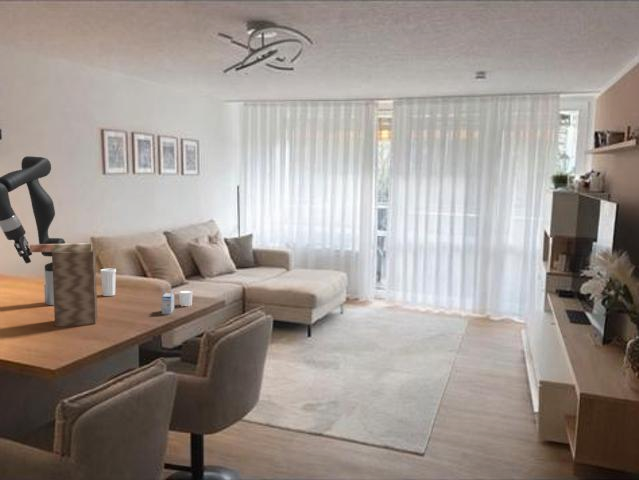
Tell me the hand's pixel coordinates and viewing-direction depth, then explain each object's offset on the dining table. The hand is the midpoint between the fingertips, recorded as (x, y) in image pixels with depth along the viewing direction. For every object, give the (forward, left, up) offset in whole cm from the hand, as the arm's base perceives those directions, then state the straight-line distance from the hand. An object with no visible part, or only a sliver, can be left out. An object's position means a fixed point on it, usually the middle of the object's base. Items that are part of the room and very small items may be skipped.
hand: (29, 258), depth 230 cm
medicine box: (+41, +41, -28) cm, 65 cm away
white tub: (+39, +56, -28) cm, 74 cm away
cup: (-11, +52, -28) cm, 60 cm away
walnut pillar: (+19, +8, -28) cm, 35 cm away
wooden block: (+15, +5, +4) cm, 16 cm away
